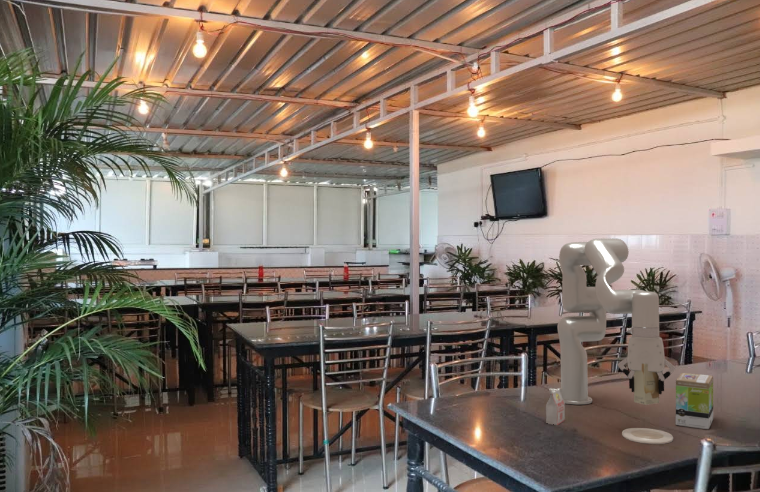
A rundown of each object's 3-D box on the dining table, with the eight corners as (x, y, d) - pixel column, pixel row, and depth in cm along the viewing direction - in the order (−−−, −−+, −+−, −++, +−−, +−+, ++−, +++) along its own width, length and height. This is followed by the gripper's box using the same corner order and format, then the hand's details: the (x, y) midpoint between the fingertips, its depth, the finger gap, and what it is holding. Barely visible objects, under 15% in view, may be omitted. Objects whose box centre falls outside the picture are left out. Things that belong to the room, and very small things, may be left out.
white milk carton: (546, 423, 203) (545, 392, 203) (554, 419, 209) (553, 389, 209) (557, 425, 201) (556, 394, 201) (564, 420, 206) (564, 390, 206)
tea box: (710, 430, 194) (709, 382, 194) (674, 425, 199) (674, 379, 199) (714, 419, 207) (713, 374, 207) (680, 415, 212) (679, 371, 212)
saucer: (620, 440, 184) (619, 437, 184) (624, 428, 196) (624, 425, 196) (672, 446, 178) (672, 443, 178) (673, 433, 190) (673, 430, 190)
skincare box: (645, 405, 184) (644, 363, 184) (633, 402, 188) (632, 361, 188) (660, 403, 187) (659, 362, 187) (648, 400, 190) (647, 359, 191)
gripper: (613, 332, 188) (614, 392, 188) (677, 335, 180) (678, 397, 180) (616, 330, 195) (617, 387, 194) (677, 332, 187) (678, 392, 187)
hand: (646, 391), depth 187 cm, fingers closed on skincare box, 6 cm apart
